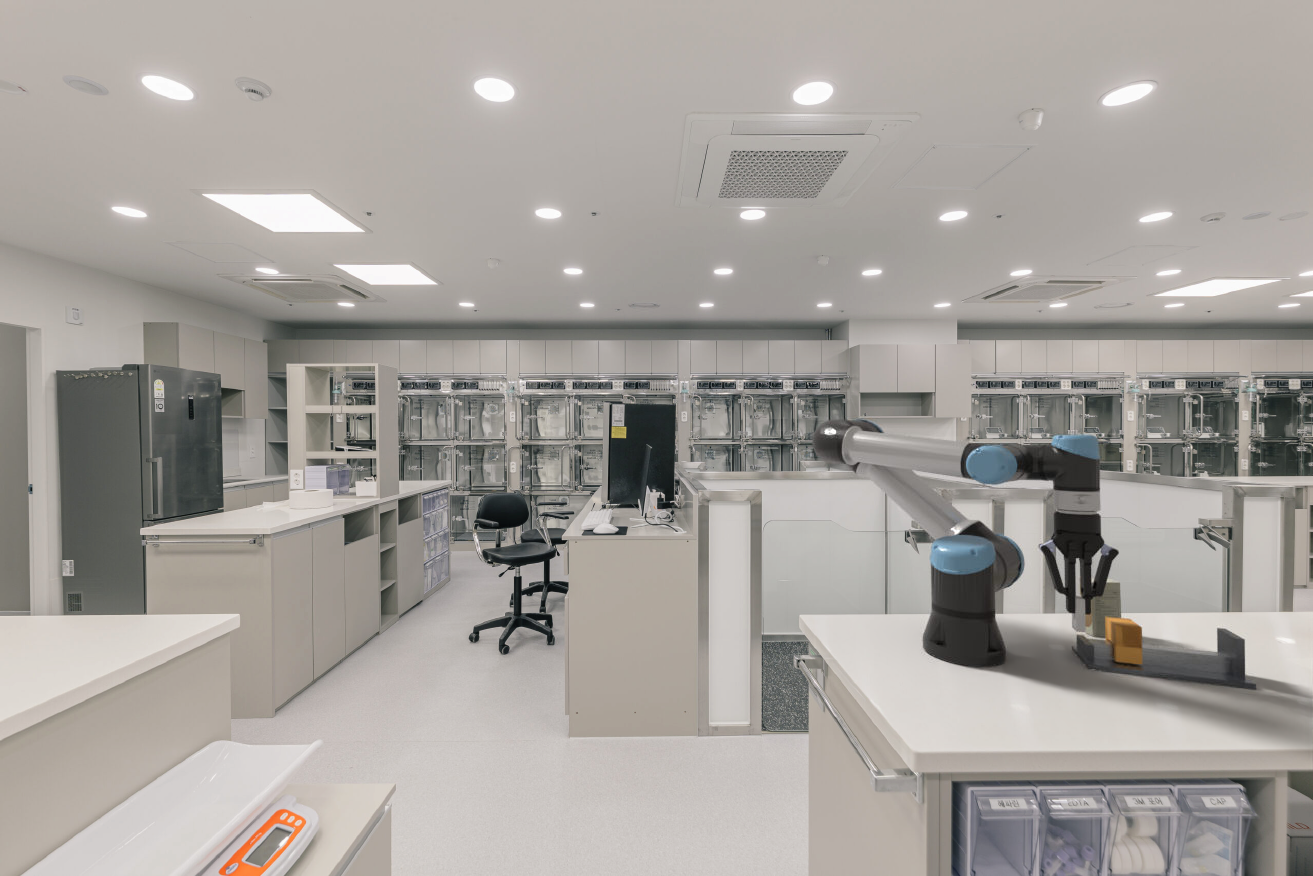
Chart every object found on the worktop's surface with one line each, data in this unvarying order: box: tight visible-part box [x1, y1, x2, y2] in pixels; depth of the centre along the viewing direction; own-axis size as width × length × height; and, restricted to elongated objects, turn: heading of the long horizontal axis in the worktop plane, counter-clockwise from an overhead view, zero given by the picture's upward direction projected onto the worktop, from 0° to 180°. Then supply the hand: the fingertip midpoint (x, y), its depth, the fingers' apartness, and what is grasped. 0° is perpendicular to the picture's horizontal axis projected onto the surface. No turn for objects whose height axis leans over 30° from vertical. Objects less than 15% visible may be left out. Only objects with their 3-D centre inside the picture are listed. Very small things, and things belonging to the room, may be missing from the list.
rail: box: [1071, 627, 1257, 690], centre depth 106 cm, size 24×10×8 cm, turn 68°
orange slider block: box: [1104, 617, 1143, 665], centre depth 108 cm, size 4×5×7 cm
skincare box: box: [1078, 577, 1122, 637], centre depth 124 cm, size 6×4×12 cm
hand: (1078, 629), depth 110 cm, fingers closed
